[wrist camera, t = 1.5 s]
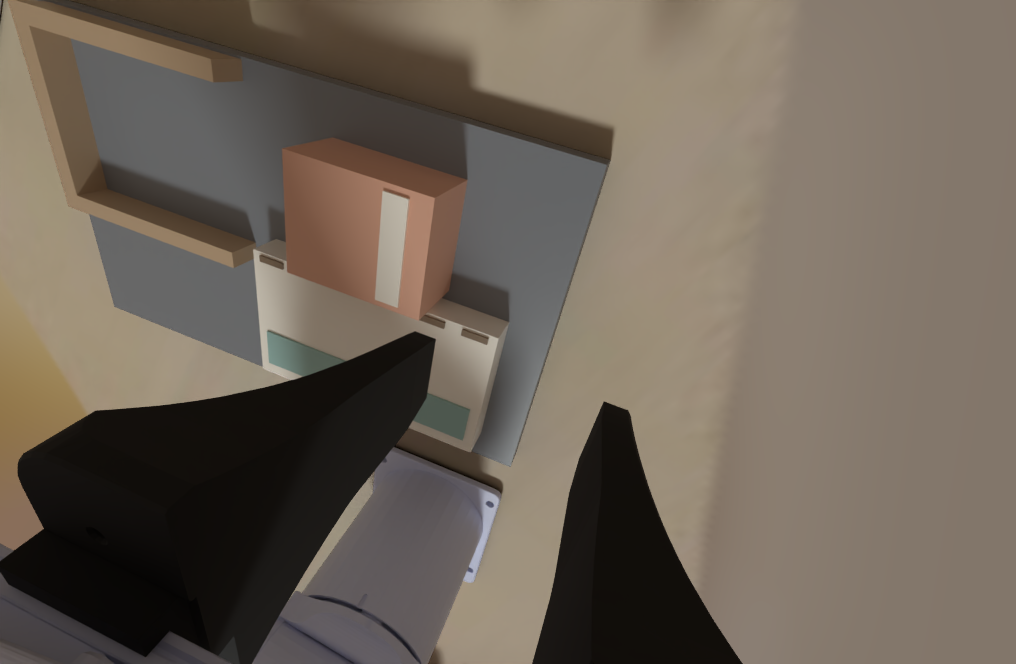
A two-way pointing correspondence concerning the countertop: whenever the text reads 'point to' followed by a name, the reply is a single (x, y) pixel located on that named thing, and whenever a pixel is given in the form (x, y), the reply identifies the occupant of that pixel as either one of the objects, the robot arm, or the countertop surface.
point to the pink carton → (371, 224)
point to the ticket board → (261, 215)
